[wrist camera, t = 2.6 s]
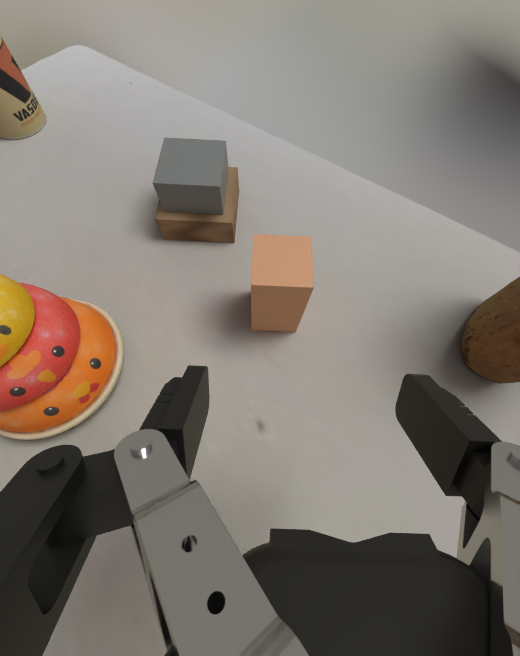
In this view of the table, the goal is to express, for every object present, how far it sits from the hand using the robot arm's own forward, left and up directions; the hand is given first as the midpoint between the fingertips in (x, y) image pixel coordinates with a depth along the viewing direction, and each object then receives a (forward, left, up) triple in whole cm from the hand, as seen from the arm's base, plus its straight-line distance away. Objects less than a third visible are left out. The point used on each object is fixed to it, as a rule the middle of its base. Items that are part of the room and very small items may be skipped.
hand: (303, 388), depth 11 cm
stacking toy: (-21, -9, -18) cm, 29 cm away
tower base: (-23, +16, -18) cm, 33 cm away
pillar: (-7, +10, -18) cm, 21 cm away
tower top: (-23, +16, -14) cm, 31 cm away
